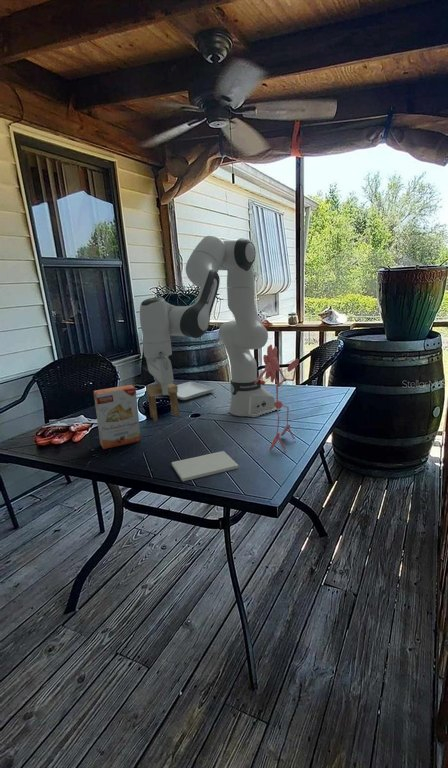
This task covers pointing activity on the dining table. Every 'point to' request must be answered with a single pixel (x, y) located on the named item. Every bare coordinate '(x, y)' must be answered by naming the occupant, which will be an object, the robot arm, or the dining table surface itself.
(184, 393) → the salad plate
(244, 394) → the robot arm
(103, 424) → the cracker box
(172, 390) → the oak stool
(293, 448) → the dining table surface
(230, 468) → the white board
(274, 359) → the pink stick figure
